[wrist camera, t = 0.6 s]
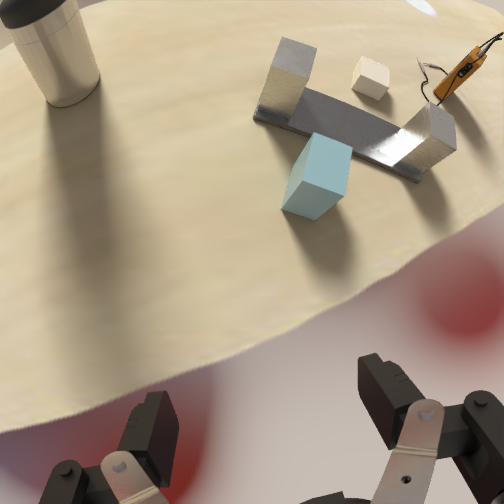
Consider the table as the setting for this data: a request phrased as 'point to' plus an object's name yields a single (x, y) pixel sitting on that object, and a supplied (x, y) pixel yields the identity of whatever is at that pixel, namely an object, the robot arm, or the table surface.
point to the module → (318, 177)
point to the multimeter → (460, 70)
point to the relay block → (371, 78)
